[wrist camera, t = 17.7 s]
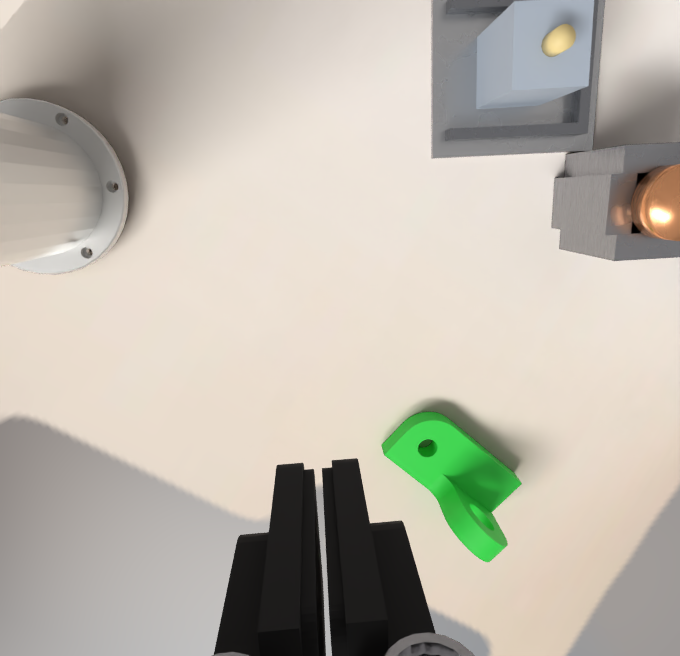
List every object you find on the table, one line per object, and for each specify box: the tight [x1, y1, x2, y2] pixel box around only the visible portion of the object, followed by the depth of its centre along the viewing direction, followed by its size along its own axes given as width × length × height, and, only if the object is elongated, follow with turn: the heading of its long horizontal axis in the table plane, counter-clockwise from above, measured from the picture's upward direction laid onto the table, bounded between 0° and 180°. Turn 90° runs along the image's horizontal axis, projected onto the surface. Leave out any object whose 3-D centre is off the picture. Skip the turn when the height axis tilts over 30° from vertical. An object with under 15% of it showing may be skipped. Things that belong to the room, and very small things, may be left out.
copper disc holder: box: [552, 142, 680, 261], centre depth 37 cm, size 8×8×8 cm
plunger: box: [631, 164, 680, 241], centre depth 35 cm, size 5×5×8 cm
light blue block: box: [476, 0, 594, 109], centre depth 33 cm, size 5×5×8 cm
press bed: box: [431, 0, 605, 158], centre depth 37 cm, size 13×12×2 cm
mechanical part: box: [382, 412, 522, 562], centre depth 43 cm, size 12×6×8 cm, turn 49°
